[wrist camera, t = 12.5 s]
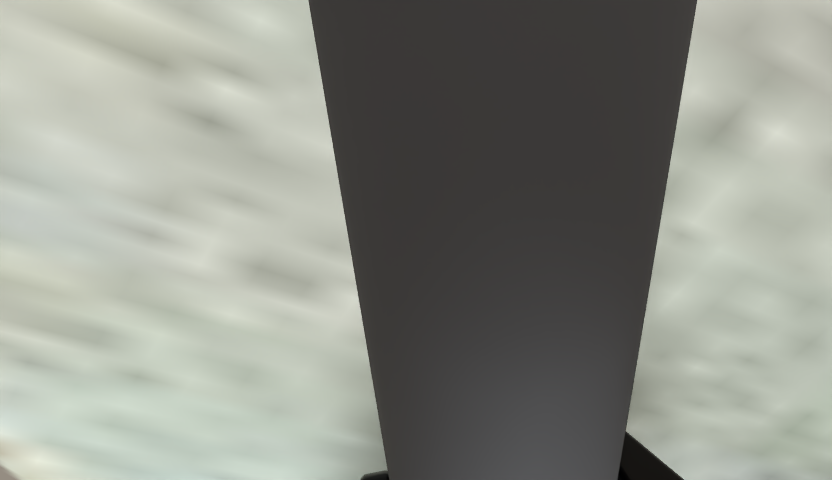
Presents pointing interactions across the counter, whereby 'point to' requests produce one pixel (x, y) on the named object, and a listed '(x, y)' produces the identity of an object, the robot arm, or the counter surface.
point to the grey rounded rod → (503, 219)
